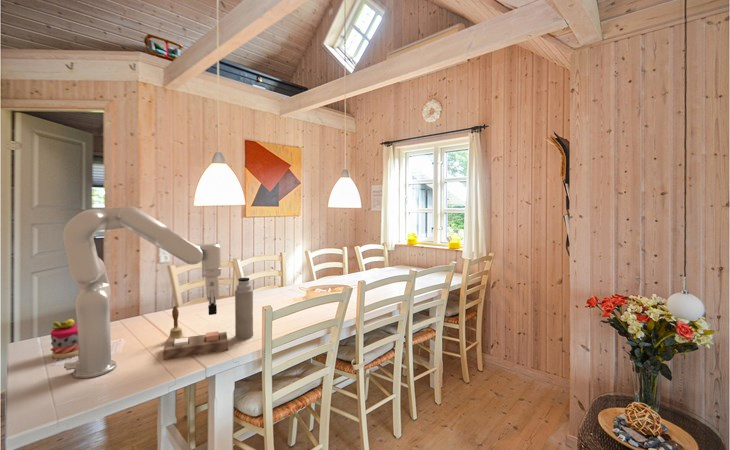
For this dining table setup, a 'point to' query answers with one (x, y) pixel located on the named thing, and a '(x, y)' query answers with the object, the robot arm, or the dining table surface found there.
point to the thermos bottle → (243, 310)
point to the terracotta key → (212, 336)
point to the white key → (181, 341)
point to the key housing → (195, 346)
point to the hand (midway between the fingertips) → (212, 314)
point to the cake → (64, 340)
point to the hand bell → (175, 326)
